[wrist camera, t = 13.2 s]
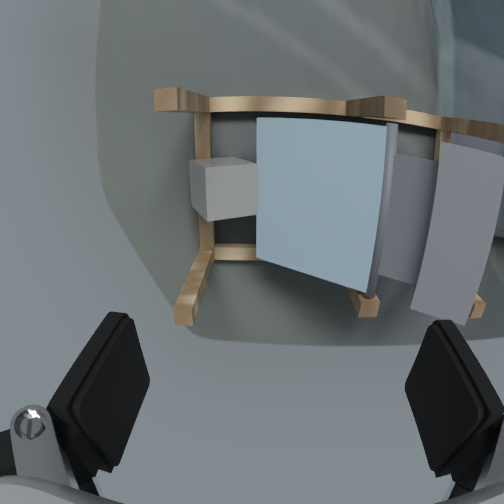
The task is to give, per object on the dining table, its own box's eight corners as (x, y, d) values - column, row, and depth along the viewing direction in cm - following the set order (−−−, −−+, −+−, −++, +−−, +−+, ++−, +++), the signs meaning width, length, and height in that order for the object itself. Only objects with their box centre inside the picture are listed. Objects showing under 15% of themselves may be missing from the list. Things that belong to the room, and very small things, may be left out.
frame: (447, 118, 30) (523, 130, 17) (427, 258, 38) (480, 317, 25) (196, 98, 31) (154, 89, 18) (202, 255, 39) (175, 324, 26)
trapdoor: (499, 145, 18) (508, 147, 14) (464, 304, 24) (461, 334, 20) (279, 115, 30) (249, 114, 26) (276, 248, 36) (249, 263, 32)
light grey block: (205, 167, 27) (189, 160, 32) (207, 221, 29) (191, 205, 34) (257, 163, 29) (233, 156, 34) (257, 214, 31) (234, 200, 36)
